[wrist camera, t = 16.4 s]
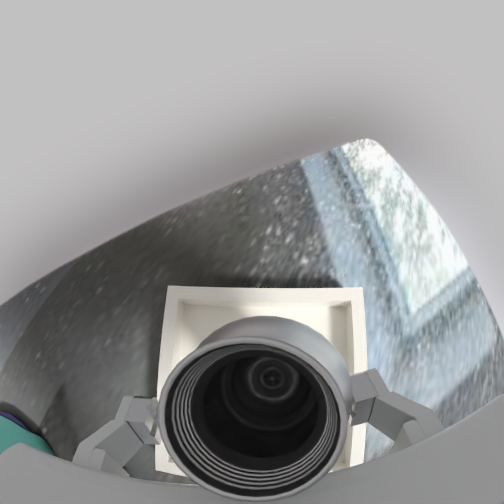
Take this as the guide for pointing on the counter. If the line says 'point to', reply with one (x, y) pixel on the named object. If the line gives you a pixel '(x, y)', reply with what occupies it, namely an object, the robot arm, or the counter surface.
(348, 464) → the ceramic dish
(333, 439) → the plastic bottle
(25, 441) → the cutlery set
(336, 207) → the counter surface
